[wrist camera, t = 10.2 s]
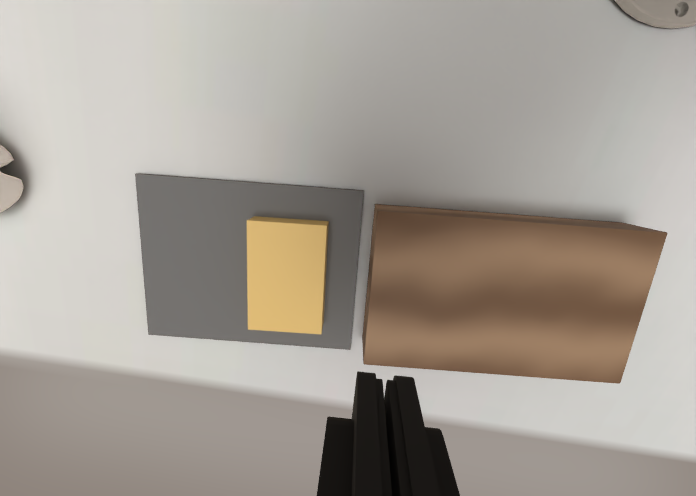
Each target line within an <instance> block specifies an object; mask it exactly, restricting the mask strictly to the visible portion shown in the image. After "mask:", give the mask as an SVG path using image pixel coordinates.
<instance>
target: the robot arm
mask: <svg viewBox="0 0 696 496" xmlns="http://www.w3.org/2000/svg"><path fill="white" fill-rule="evenodd" d="M614 1H615V2H616V3H617V4H618V5H619V6H620V7H621V8H622V9H623V11H625V12H626V13H627V14H629V15H630V16H632V17H633V18H635V19H636V20H638V21H640V22H643V23H646V24H648V25H651V26H654V27H662V28H670V29H671V28H683V27H690V26H693V25H696V0H614ZM317 496H460V494H459V491H458V488H457V484H456V480H455V477H454V473H453V469H452V466H451V462H450V459H449V456H448V452H447V448H446V445H445V441H444V438H443V435H442V432H441V430H440V429H437V428H428V427H425V426H424V422H423V417H422V413H421V408H420V404H419V399H418V395H417V391H416V386H415V382H414V378H413V377H404V376H394V379H393V380H387V384H386V390H385V397H384V393H383V382H382V379H376V374H375V373H366V372H357V378H356V387H355V396H354V404H353V413H352V419H345V418H336V417H328V418H327V424H326V432H325V440H324V447H323V454H322V462H321V469H320V476H319V483H318V491H317Z"/></svg>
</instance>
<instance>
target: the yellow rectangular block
mask: <svg viewBox="0 0 696 496" xmlns="http://www.w3.org/2000/svg"><path fill="white" fill-rule="evenodd" d="M328 225H329V221H318V220H303V219H288V218H273V217H258V216H254V217H252V218H250V219H248V220H247V299H248V330H262V331H277V332H292V333H307V334H322V328H323V323H324V304H325V284H326V265H327V245H328Z"/></svg>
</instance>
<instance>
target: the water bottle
mask: <svg viewBox="0 0 696 496" xmlns="http://www.w3.org/2000/svg"><path fill="white" fill-rule="evenodd" d="M13 160H14V159H13V157H12V155H11V153H10V152H9V151H7V150H6V149H5V148H4V147H3V146H1V145H0V167H3V166H5V165H7V164H9V163H10V162H11V161H13ZM22 191H23V183H22V180H21V179H19V178H16V177H13V176H10V175H7V174H4V173H2V172H1V171H0V213H1V212H3V211H4V210H6V209H8V208H9V207H11V206H12V205H13V204H14V203H15V202H17V201H18V199H19V198H20V197H21V194H22Z"/></svg>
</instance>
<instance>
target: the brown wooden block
mask: <svg viewBox="0 0 696 496" xmlns="http://www.w3.org/2000/svg"><path fill="white" fill-rule="evenodd" d="M666 236H667V233H666V232H662V231H657V230H653V229H649V228H644V227H640V226H635V225H631V224H626V223H620V222H607V221H594V220H580V219H567V218H554V217H540V216H527V215H514V214H501V213H487V212H474V211H461V210H447V209H434V208H421V207H408V206H394V205H381V204H375V208H374V219H373V229H372V240H371V251H370V262H369V273H368V283H367V294H366V305H365V316H364V327H363V337H362V340H363V362H364V364H367V365H380V366H394V367H407V368H420V369H434V370H447V371H460V372H473V373H487V374H500V375H513V376H527V377H540V378H553V379H566V380H580V381H593V382H606V383H620V382H621V379H622V376H623V372H624V369H625V366H626V363H627V360H628V357H629V353H630V350H631V347H632V344H633V341H634V337H635V334H636V331H637V328H638V325H639V322H640V318H641V315H642V312H643V309H644V306H645V303H646V299H647V296H648V293H649V290H650V287H651V284H652V280H653V277H654V274H655V271H656V268H657V265H658V261H659V258H660V255H661V252H662V249H663V245H664V242H665V239H666Z"/></svg>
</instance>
